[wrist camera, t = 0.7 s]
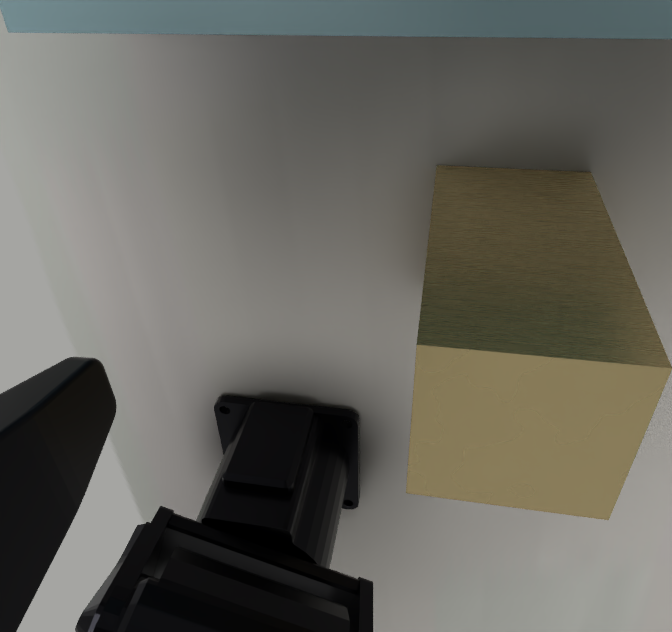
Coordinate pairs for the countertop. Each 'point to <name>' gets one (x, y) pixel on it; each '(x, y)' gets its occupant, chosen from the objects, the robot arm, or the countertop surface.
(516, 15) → the hole block
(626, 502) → the countertop surface
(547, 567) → the countertop surface
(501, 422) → the brass pin
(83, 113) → the countertop surface
